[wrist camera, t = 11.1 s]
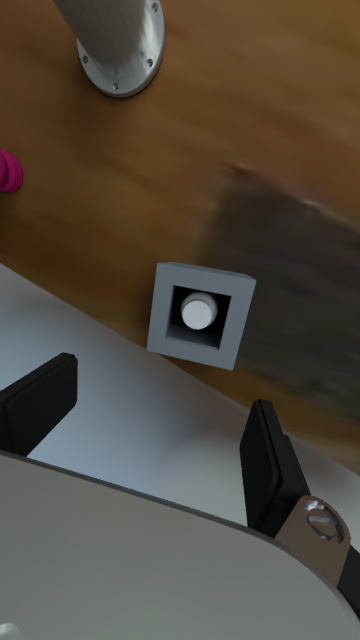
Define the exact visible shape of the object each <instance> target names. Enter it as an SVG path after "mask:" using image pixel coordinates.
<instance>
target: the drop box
mask: <svg viewBox="0 0 360 640" xmlns="http://www.w3.org/2000/svg"><path fill="white" fill-rule="evenodd" d="M255 284H256V280H255V279H253V278H251V277H250V276H248V275H246V274H242V273H236V272H230V271H224V270H219V269H213V268H207V267H201V266H196V265H190V264H184V263H178V262H165V263H157V270H156V278H155V286H154V294H153V302H152V310H151V318H150V326H149V334H148V342H147V351H150V352H155V353H159V354H163V355H168V356H172V357H176V358H181V359H185V360H189V361H194V362H198V363H202V364H207V365H211V366H215V367H220V368H224V369H228V370H233V367H234V363H235V359H236V356H237V352H238V348H239V344H240V340H241V337H242V333H243V329H244V325H245V321H246V318H247V314H248V310H249V306H250V303H251V299H252V295H253V291H254V287H255ZM176 286H182V287H187V288H192V289H198V290H203V291H208V292H214V293H219V294H224V295H229V296H231V299H230V303H229V308H228V312H227V316H226V321H225V325H224V329H223V333H222V335H220V334H215V333H210V332H206V331H201V330H196V329H191V328H187V327H182V326H177V325H173V324H170V322H171V315H172V309H173V302H174V296H175V289H176Z"/></svg>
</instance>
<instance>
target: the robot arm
mask: <svg viewBox="0 0 360 640" xmlns="http://www.w3.org/2000/svg"><path fill="white" fill-rule="evenodd" d="M53 2H54V3H55V5H56V6H57V8H58V9H59V11H60V13H61V14H62V16H63V17H64V19H65V20H66V22H67V23H68V25H69V26H70V28H71V30H72V31H73V33H74V34H75V36H76V37H77V48H78V53H79V57H80V60H81V63H82V66H83V68H84V70H85V72H86V74H87V75H88V77H89V78H90V80H91V81H92V82H93V84H94V85H95V86H96V87H97V88H98V89H99V90H101V91H102V92H103V93H105V94H107V95H109V96H112V97H118V98H123V97H129V96H132V95H134V94H136V93H138V92H139V91H141V90H142V89H144V88H145V87H146V86H147V85H148V84H149V82H150V81H151V80H152V78H153V77H154V75H155V74H156V72H157V70H158V68H159V66H160V63H161V60H162V56H163V52H164V47H165V32H166V31H165V21H164V16H163V12H162V7H161V4H160V1H159V0H53ZM77 366H78V361H77V358H75V355H73V354H69V353H61V354H59V355H58V356H56V357H54V358H53V359H51V360H50V361H48V362H47V363H45V364H43V365H42V366H40V367H38V368H37V369H35V370H34V371H32V372H31V373H29V374H28V375H26V376H24V377H22V378H21V379H19V380H17V381H16V382H15V383H13V384H11V385H9V386H8V387H6V388H5V389H3V390H1V391H0V640H360V553H359V552H358V551H357V550H355V549H354V548H353V547H352V546H351V545H350V543H351V537H350V533H349V529H348V528H347V526H346V524H345V522H344V520H343V519H342V518H341V516H340V515H339V514H338V513H337V511H335V510H334V509H333V508H332V507H331V506H330V505H329V504H328V503H326V502H325V501H323V500H322V499H320V498H318V497H315V496H311V493H310V490H309V488H308V485H307V483H306V480H305V477H304V475H303V472H302V470H301V467H300V464H299V462H298V459H297V457H296V454H295V452H294V449H293V447H292V444H291V441H290V439H289V437H288V436H287V435H284V434H283V432H282V429H281V426H280V423H279V421H278V418H277V415H276V412H275V410H274V407H273V404H272V402H270V401H266V400H262V399H258V401H254V402H253V405H252V408H251V411H250V414H249V417H248V420H247V424H246V427H245V430H244V433H243V436H242V439H241V443H240V459H241V468H242V477H243V486H244V496H245V505H246V515H247V524H248V527H246V526H243V525H241V524H238V523H235V522H232V521H229V520H226V519H223V518H220V517H217V516H214V515H211V514H208V513H205V512H202V511H199V510H196V509H193V508H190V507H187V506H183V505H181V504H177V503H174V502H171V501H168V500H165V499H161V498H158V497H155V496H152V495H149V494H145V493H142V492H139V491H136V490H133V489H129V488H126V487H122V486H120V485H116V484H113V483H110V482H106V481H103V480H100V479H97V478H93V477H90V476H87V475H83V474H80V473H77V472H74V471H70V470H67V469H64V468H60V467H57V466H54V465H50V464H47V463H44V462H40V461H37V460H34V459H30V458H27V455H28V454H29V453H30V452H31V451H32V450H33V449H34V448H35V447H36V446H37V445H38V444H39V443H40V442H41V441H42V440H43V439H44V438H45V437H46V436H47V434H48V433H49V432H50V431H51V430H52V429H53V428H54V427H55V426H56V425H57V424H58V423H59V422H60V421H61V420H62V419H63V418H64V416H66V415H67V414H68V413H69V411H70V410H71V409H72V408H73V407H74V406H75V404H76V402H77Z"/></svg>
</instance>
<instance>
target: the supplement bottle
mask: <svg viewBox="0 0 360 640" xmlns="http://www.w3.org/2000/svg"><path fill="white" fill-rule="evenodd" d="M217 310H218V299H217V296H216V294H215V293H214V292H208V291H203V290H198V289H194V290H192V291H191V292H190V293H189V294H188V296H187V297H186V298H185V299H184V301H183V302H182V305H181V315H182V317H183V320H184V322H185V323H186V325H187V326H189V327H190V328H193V329H202V328H204V327H206V326H208V325H210V324H211V323H212V322H213V321H214V320H215V318H216V315H217Z"/></svg>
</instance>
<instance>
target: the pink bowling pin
mask: <svg viewBox="0 0 360 640" xmlns="http://www.w3.org/2000/svg"><path fill="white" fill-rule="evenodd" d="M22 181H23V173H22V168H21V166H20V163H19V162H18V160H17V159H16V158H15V157H14V156H13V155H12V154H10V153H8V152H6V151H4V150H2V149H0V191H3V192H7V193H13V192H16V191H17V190H18V189H19V188H20V186H21V185H22Z"/></svg>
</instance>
